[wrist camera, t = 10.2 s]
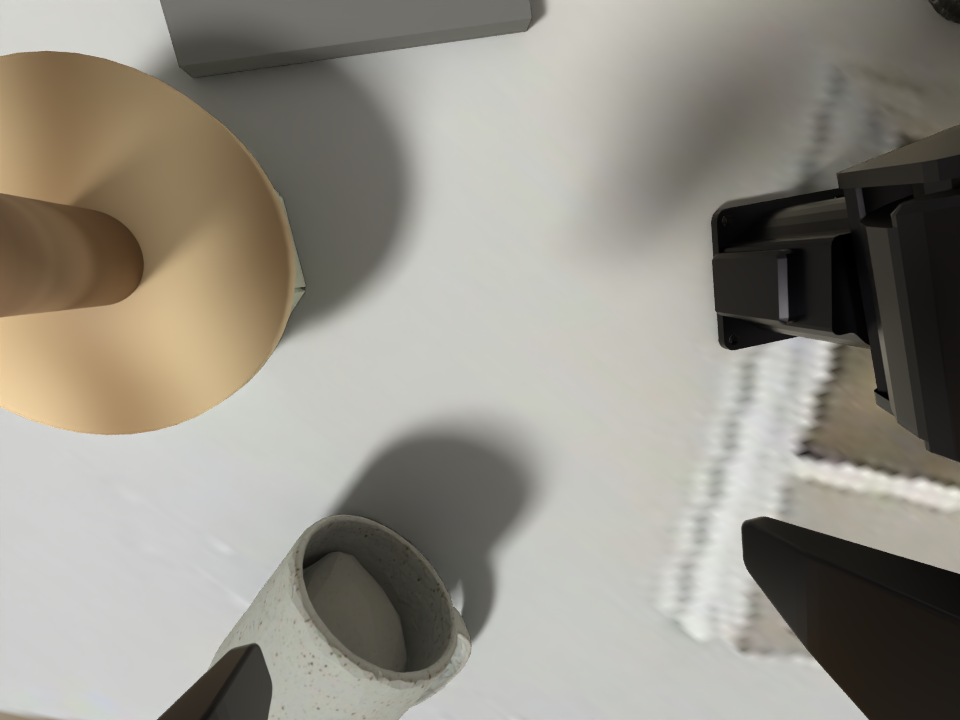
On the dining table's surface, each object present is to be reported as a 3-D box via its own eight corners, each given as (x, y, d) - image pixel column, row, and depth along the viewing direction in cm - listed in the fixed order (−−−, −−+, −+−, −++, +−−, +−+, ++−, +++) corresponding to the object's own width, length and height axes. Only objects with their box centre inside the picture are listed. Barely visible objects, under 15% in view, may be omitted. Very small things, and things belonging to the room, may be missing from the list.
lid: (240, 42, 14) (126, -101, 8) (331, 387, 16) (287, 445, 11) (-160, 97, 13) (-571, -24, 7) (0, 456, 15) (-226, 555, 10)
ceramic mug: (226, 620, 22) (126, 808, 14) (322, 487, 21) (271, 611, 13) (410, 705, 24) (408, 903, 17) (502, 588, 23) (542, 741, 16)
